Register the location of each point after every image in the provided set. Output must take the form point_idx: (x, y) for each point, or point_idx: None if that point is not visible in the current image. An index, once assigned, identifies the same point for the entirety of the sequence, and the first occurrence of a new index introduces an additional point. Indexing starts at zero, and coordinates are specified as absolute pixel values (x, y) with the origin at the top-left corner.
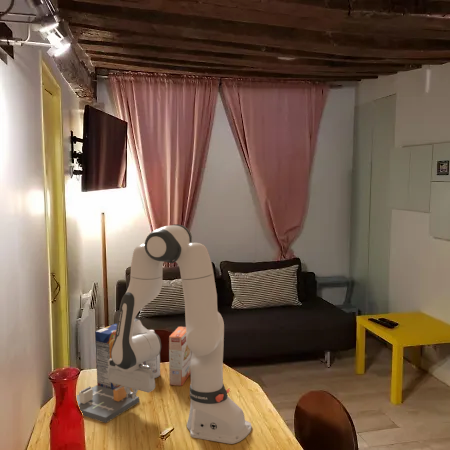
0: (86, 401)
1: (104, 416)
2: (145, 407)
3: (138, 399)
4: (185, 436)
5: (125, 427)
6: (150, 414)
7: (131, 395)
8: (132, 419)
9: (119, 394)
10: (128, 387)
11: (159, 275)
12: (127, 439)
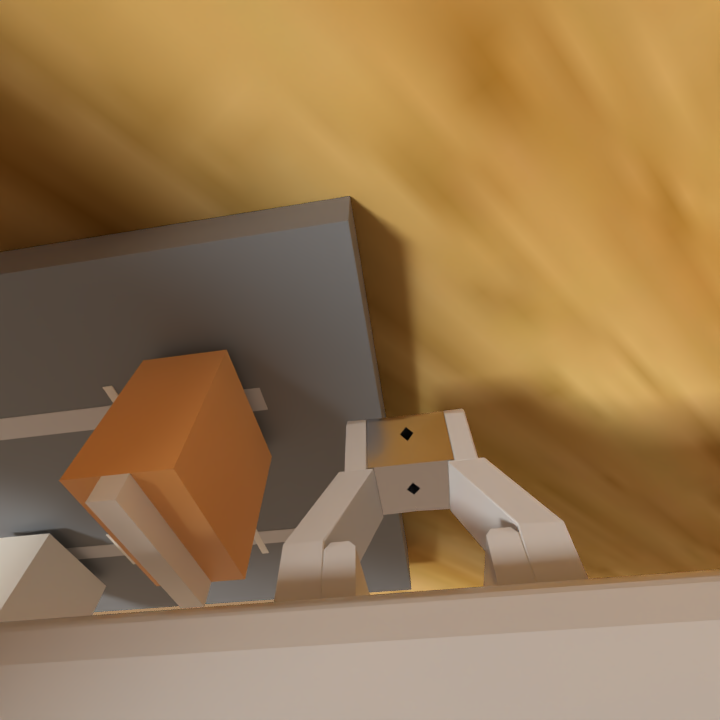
0: (88, 582)
1: (391, 587)
2: (528, 248)
3: (352, 225)
4: None
5: (569, 524)
6: (677, 323)
7: (444, 495)
8: (550, 454)
9: (249, 511)
10: (365, 593)
11: None
12: (661, 571)
